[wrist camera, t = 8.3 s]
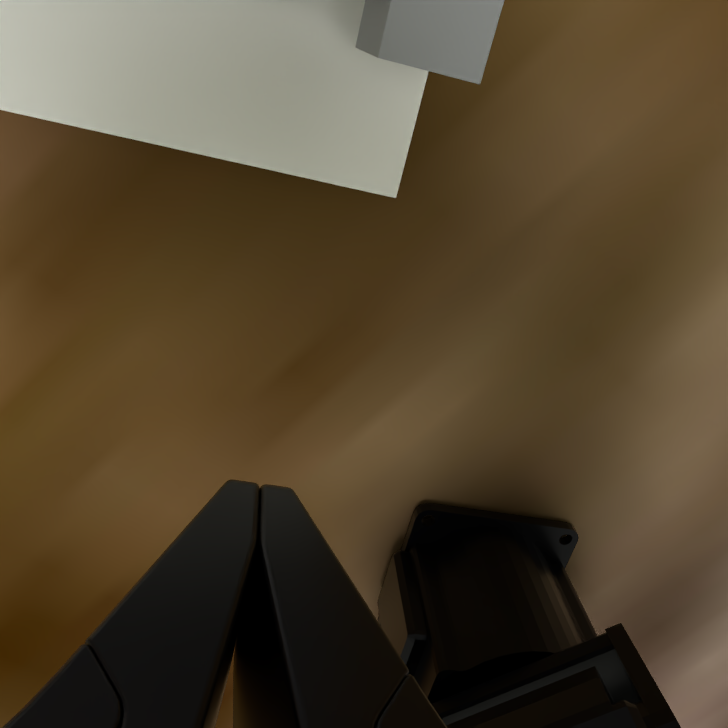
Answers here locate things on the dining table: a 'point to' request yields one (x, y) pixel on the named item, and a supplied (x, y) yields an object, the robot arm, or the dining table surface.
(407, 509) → the dining table surface
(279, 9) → the pipe rig
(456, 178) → the dining table surface
